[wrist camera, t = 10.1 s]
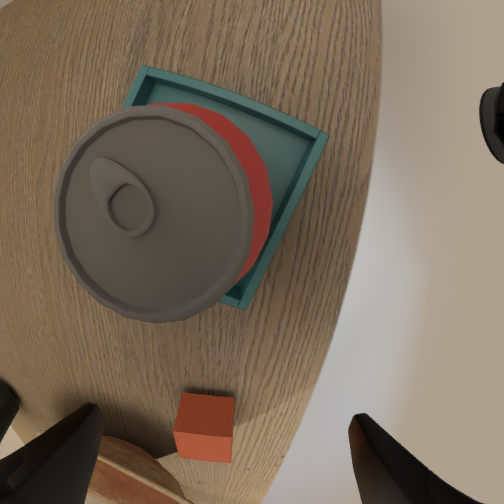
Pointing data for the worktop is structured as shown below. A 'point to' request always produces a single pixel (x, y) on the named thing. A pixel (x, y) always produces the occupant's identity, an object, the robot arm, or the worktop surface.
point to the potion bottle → (6, 409)
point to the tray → (265, 141)
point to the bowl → (131, 476)
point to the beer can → (162, 210)
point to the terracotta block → (205, 427)
